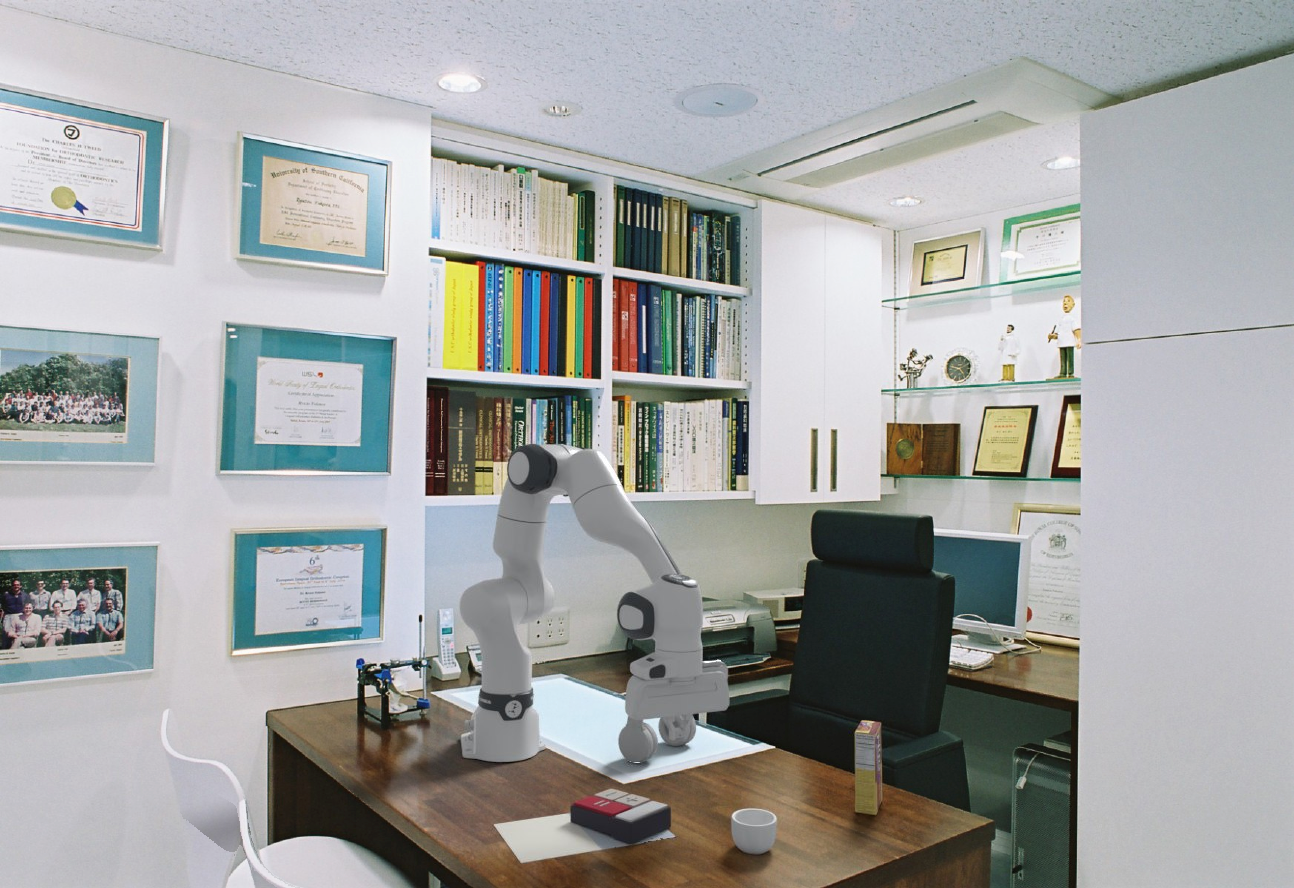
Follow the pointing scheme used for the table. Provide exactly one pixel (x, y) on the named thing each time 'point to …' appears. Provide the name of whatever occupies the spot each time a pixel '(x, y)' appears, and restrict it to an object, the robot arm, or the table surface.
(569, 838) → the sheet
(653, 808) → the calculator
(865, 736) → the candy box
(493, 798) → the table surface
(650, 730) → the headphones
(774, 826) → the teacup
